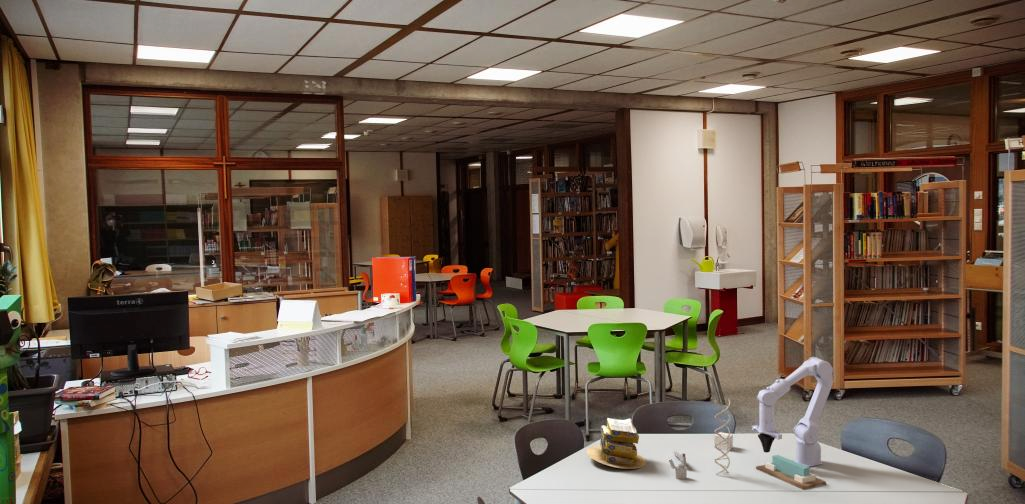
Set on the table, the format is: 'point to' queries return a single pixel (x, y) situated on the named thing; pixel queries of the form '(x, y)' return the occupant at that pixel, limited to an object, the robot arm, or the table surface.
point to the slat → (789, 466)
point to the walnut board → (791, 478)
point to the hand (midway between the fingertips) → (766, 451)
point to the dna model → (723, 437)
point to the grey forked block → (679, 470)
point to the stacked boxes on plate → (618, 445)
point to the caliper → (681, 457)
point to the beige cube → (724, 446)
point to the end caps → (796, 477)
